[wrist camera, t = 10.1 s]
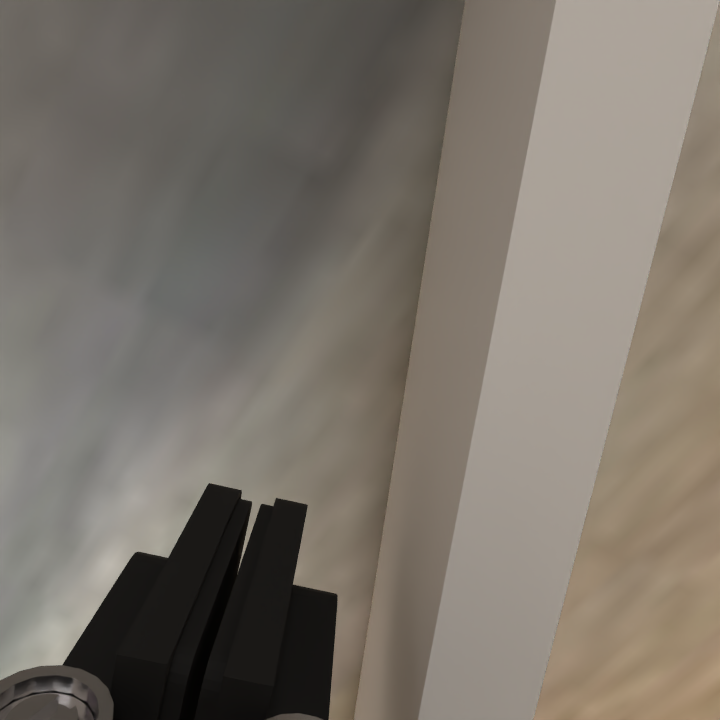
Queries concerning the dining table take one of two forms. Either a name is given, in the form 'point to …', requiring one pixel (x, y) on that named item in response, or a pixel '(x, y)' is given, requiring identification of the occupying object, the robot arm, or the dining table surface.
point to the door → (522, 339)
